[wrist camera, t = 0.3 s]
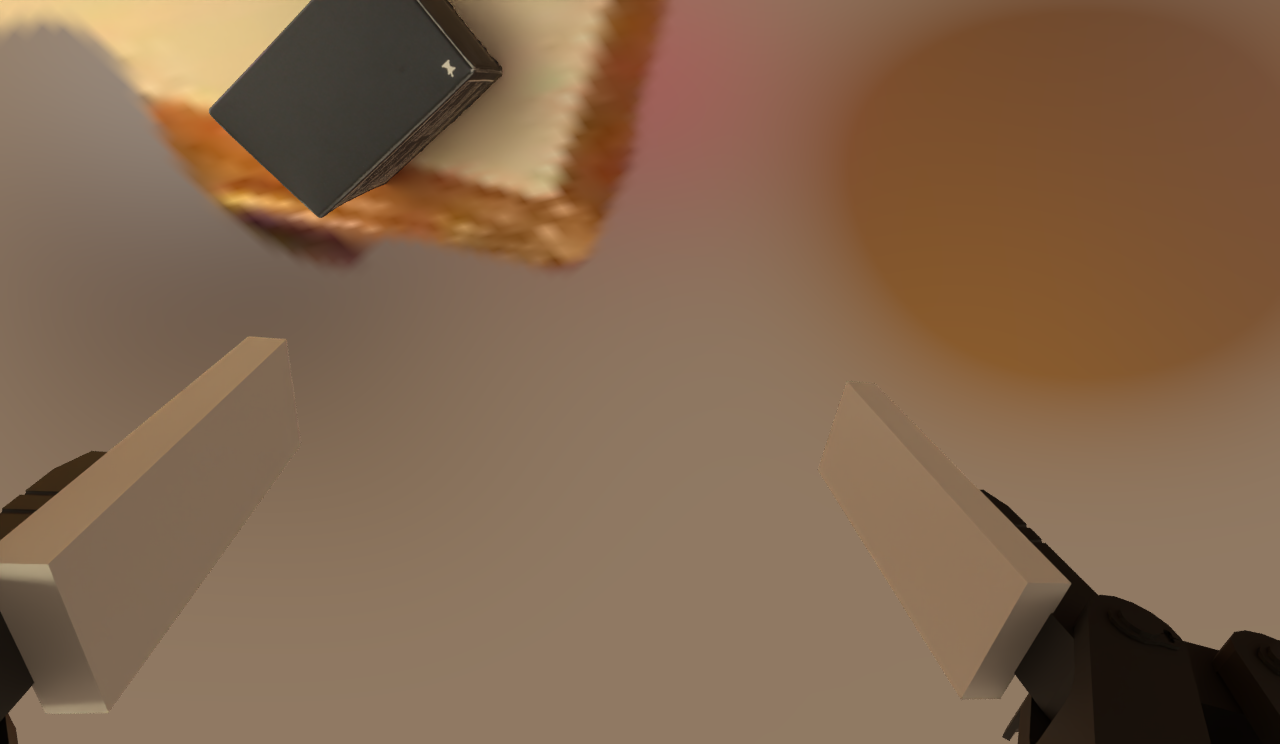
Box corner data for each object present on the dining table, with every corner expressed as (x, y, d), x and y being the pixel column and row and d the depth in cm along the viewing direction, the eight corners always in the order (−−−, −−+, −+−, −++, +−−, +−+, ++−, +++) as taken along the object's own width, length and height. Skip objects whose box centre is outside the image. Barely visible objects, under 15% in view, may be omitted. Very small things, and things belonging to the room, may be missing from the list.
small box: (423, -32, 33) (364, -75, 23) (506, 72, 35) (484, 71, 26) (296, 99, 35) (195, 108, 25) (384, 188, 37) (322, 225, 28)
